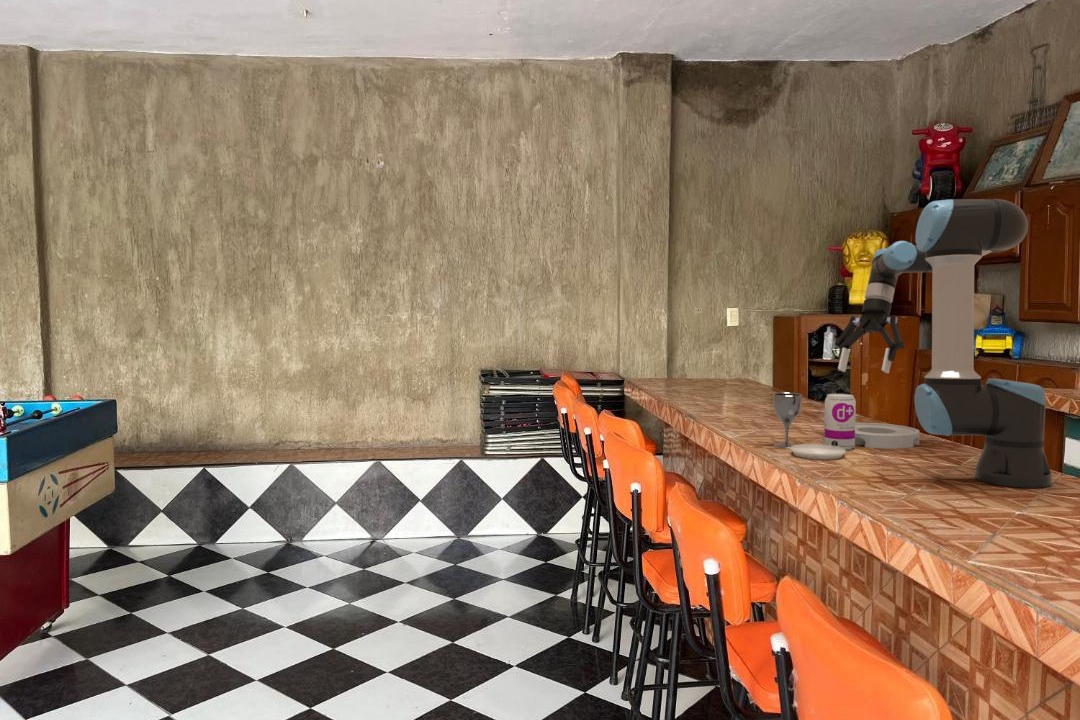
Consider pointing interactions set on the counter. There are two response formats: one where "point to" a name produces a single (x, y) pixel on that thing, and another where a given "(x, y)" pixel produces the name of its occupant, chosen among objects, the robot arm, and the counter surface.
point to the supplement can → (840, 421)
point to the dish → (818, 451)
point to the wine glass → (786, 411)
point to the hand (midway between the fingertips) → (862, 371)
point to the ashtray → (885, 436)
